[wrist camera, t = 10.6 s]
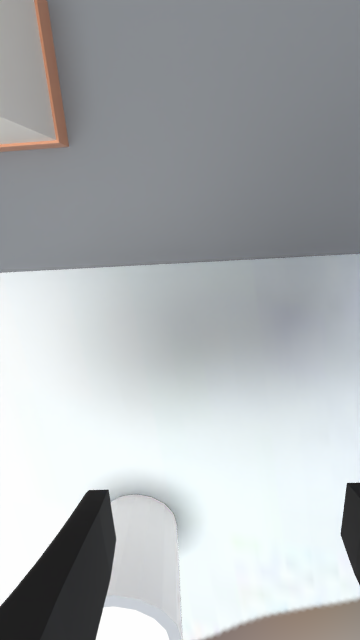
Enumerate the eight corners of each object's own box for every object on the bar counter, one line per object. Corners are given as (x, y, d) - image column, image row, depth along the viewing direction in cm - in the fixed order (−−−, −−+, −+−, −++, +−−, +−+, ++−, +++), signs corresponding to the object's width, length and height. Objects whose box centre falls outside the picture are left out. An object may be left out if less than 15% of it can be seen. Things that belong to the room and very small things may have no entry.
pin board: (423, -198, 13) (452, -248, 11) (369, 247, 18) (384, 252, 16) (-148, -126, 14) (-187, -163, 12) (-40, 269, 19) (-59, 275, 18)
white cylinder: (107, 474, 24) (73, 582, 17) (200, 505, 24) (202, 621, 18) (79, 541, 26) (40, 660, 19) (165, 568, 26) (156, 692, 20)
